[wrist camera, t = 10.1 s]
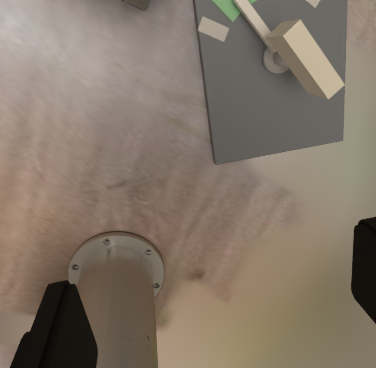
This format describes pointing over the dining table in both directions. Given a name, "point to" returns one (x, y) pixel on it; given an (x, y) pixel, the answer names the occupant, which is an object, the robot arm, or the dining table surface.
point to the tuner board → (267, 79)
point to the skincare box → (139, 3)
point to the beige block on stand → (294, 53)
